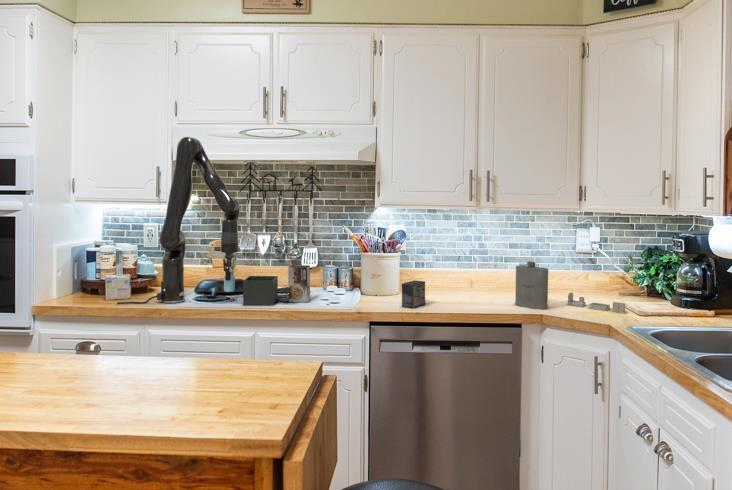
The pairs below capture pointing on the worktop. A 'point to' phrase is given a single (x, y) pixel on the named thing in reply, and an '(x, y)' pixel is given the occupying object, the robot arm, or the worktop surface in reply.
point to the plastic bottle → (229, 283)
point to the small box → (413, 294)
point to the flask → (531, 286)
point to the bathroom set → (596, 304)
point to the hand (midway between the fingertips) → (229, 279)
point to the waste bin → (260, 290)
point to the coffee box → (299, 283)
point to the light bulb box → (118, 286)
